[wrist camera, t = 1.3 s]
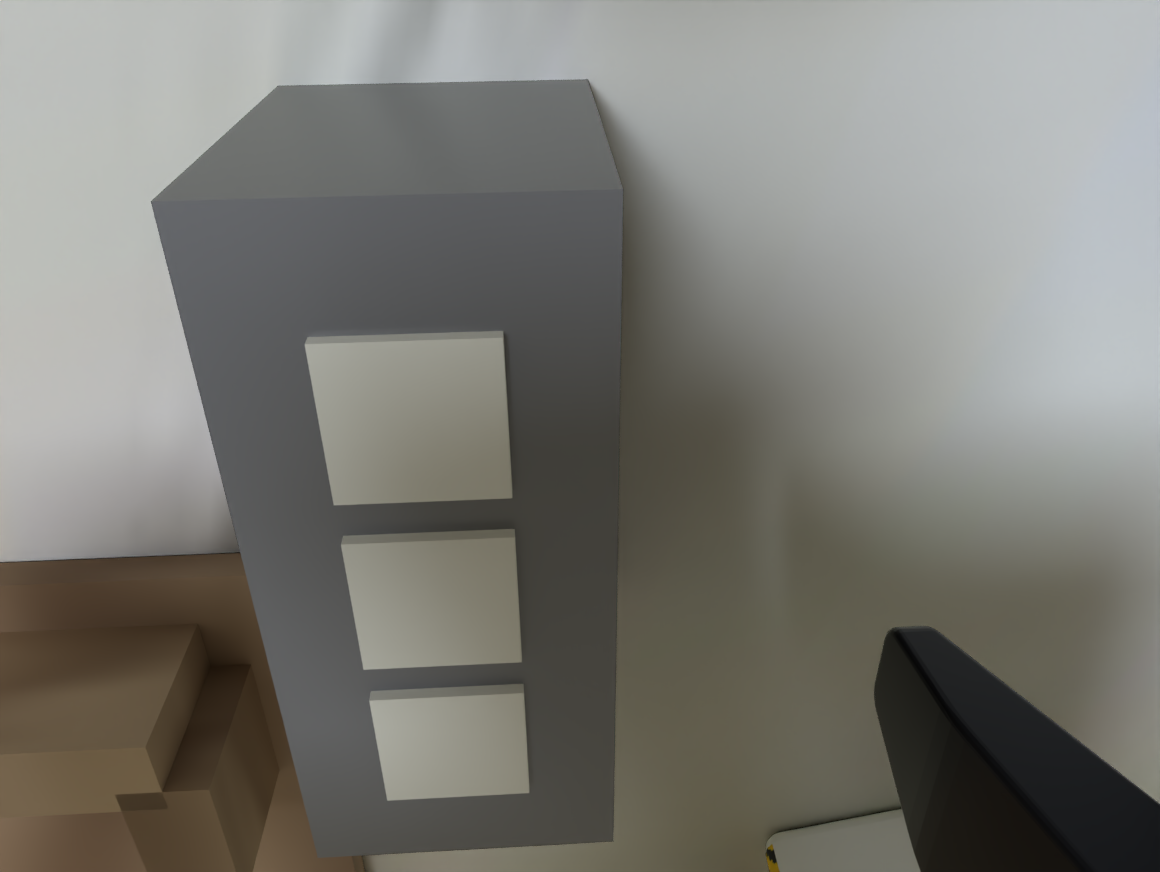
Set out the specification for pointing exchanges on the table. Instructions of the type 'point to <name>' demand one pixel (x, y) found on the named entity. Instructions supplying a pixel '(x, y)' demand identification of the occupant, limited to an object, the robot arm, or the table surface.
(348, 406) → the power strip
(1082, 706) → the table surface
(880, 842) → the medicine bottle
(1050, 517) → the table surface
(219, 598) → the cradle board
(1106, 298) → the table surface
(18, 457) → the table surface
